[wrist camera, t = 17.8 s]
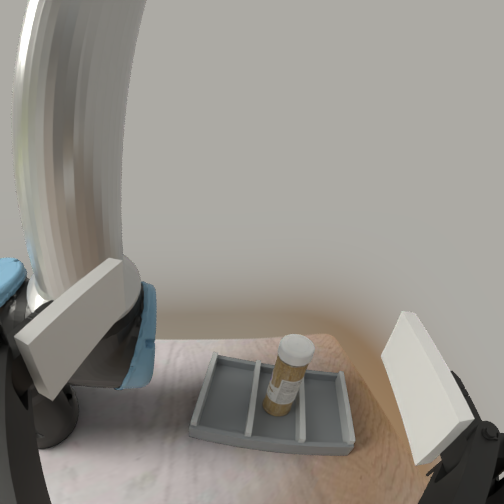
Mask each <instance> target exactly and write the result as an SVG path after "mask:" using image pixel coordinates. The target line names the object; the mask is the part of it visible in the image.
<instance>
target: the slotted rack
mask: <svg viewBox="0 0 504 504" xmlns="http://www.w3.org/2000/svg"><path fill="white" fill-rule="evenodd" d="M274 367H275V365H270V364H264V363H261V361H259V360H256V362H252V361H246V360H241V359H236V358H231V357H226V356H221V355H218V353H217V352H213V355H212V358H211V361H210V364H209V367H208V370H207V373H206V376H205V379H204V382H203V385H202V388H201V391H200V394H199V397H198V400H197V403H196V406H195V409H194V412H193V416H192V419H191V423H190V425H189V437H193V438H197V439H201V440H206V441H210V442H215V443H220V444H225V445H230V446H236V447H242V448H248V449H255V450H262V451H270V452H279V453H290V454H304V455H330V456H347V455H348V454H349V452H350V451H351V450H352V449H353V448H354V442H355V434H354V428H353V422H352V416H351V410H350V404H349V399H348V393H347V388H346V382H345V377H344V372H343V371H339V372H338V373H332V372H322V371H313V370H306V372H305V375H304V378H303V380H302V383H301V385H300V388H299V390H298V392H297V395H296V397H295V399H294V401H293V403H292V405H291V410H290V411H289V413H288V414H286V415H284V416H273V415H270V414H268V413H267V412H266V411H265V410H264V408H263V400H264V398H265V396H266V393H267V388H268V385H269V382H270V379H271V376H272V372H273V369H274Z"/></svg>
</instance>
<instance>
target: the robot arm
mask: <svg viewBox="0 0 504 504" xmlns="http://www.w3.org/2000/svg"><path fill="white" fill-rule="evenodd" d="M145 3H146V0H28V3H27V6H26V10H25V14H24V18H23V22H22V27H21V31H20V36H19V42H18V48H17V54H16V62H15V69H14V79H13V92H12V93H13V94H12V118H11V119H12V122H11V127H12V154H13V167H14V177H15V186H16V193H17V200H18V207H19V212H20V218H21V223H22V228H23V233H24V237H25V242H26V246H27V250H28V254H29V258H30V262H31V265H32V269H33V272H34V273H33V274H32V276H31V278H30V279H28V278H27V271H26V269H25V268H24V265H23V263H21V261H19V260H18V259H15V258H0V504H51V501H50V498H49V494H48V491H47V487H46V483H45V479H44V475H43V471H42V466H41V462H40V457H39V451H38V448H47V447H51V446H54V445H56V444H58V443H60V442H61V441H63V440H64V439H65V438H66V437H67V436H68V435H69V434H70V433H71V432H72V430H73V429H74V427H75V425H76V422H77V419H78V413H79V407H78V401H77V398H76V396H75V393H74V391H73V389H72V387H71V385H76V386H87V387H101V388H114V389H115V390H122V389H124V388H142V387H144V386H146V385H147V384H148V383H149V382H150V381H151V378H152V375H153V369H154V358H155V343H154V341H155V334H156V291H155V288H154V286H153V285H151V284H148V283H145V282H141V279H140V274H139V271H138V269H137V267H136V265H135V264H134V263H133V262H132V261H131V260H130V259H129V258H128V257H126V256H125V255H124V254H123V247H122V222H121V176H122V151H123V136H124V124H125V113H126V104H127V95H128V88H129V81H130V75H131V68H132V63H133V57H134V52H135V46H136V41H137V36H138V32H139V27H140V23H141V19H142V15H143V11H144V7H145ZM381 358H382V360H383V363H384V366H385V369H386V371H387V374H388V377H389V380H390V382H391V386H392V389H393V392H394V395H395V398H396V401H397V404H398V407H399V410H400V413H401V417H402V420H403V423H404V426H405V430H406V434H407V437H408V441H409V444H410V448H411V451H412V454H413V459H414V463H415V466H417V465H422V464H427V463H431V462H432V461H433V460H434V459H436V458H437V457H438V456H439V455H440V456H441V459H442V461H440V462H439V463H438V464H437V465H436V466H435V467H433V468H432V469H431V470H430V471H429V472H428V473H427V474H426V476H429V475H430V474H431V473H432V472H434V473H433V475H432V477H431V479H430V482H429V483H428V485H427V487H426V489H425V491H424V493H423V495H422V497H421V499H420V501H419V502H418V504H504V477H503V478H502V479H501V480H499V475H500V474H501V473H502V472H503V471H504V433H500V432H499V430H498V428H497V427H496V426H495V425H494V424H493V423H491V422H488V421H482V420H481V418H480V416H479V414H478V412H477V410H476V408H475V406H474V404H473V402H472V400H471V398H470V396H468V395H469V394H468V392H467V391H466V389H465V387H464V385H463V383H462V382H461V379H460V378H459V377H458V376H457V375H456V374H455V373H454V372H453V371H450V370H449V368H448V366H447V365H446V363H445V362H444V359H443V358H442V356H441V354H440V352H439V351H438V349H437V347H436V346H435V344H434V342H433V341H432V339H431V337H430V336H429V334H428V332H427V331H426V329H425V328H424V326H423V325H422V323H421V321H420V320H419V318H418V317H417V315H416V314H415V313H414V312H406V311H402V312H401V314H400V317H399V319H398V321H397V323H396V326H395V328H394V330H393V332H392V334H391V336H390V339H389V340H388V343H387V344H386V347H385V349H384V350H383V352H382V355H381Z"/></svg>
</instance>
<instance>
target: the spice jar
mask: <svg viewBox="0 0 504 504" xmlns="http://www.w3.org/2000/svg"><path fill="white" fill-rule="evenodd" d="M314 351H315V347H314V344H313V342H312V341H311V340H310V339H308V338H307V337H305V336H302V335H298V334H290V335H286V336H285V337H283V338H282V339H281V341H280V344H279V348H278V357H277V360H276V364H275V367H274V369H273V372H272V376H271V379H270V382H269V385H268V388H267V393H266V396H265V398H264V400H263V408H264V410H265V411H266V412H267V413H268V414H270V415H273V416H284V415H286V414H288V413H289V411H290V410H291V405H292V403H293V401H294V399H295V397H296V395H297V392H298V390H299V388H300V385H301V383H302V380H303V378H304V375H305V372H306V369H307V366H308V364H309V362H310V361H311V360H312V357H313V354H314Z"/></svg>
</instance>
